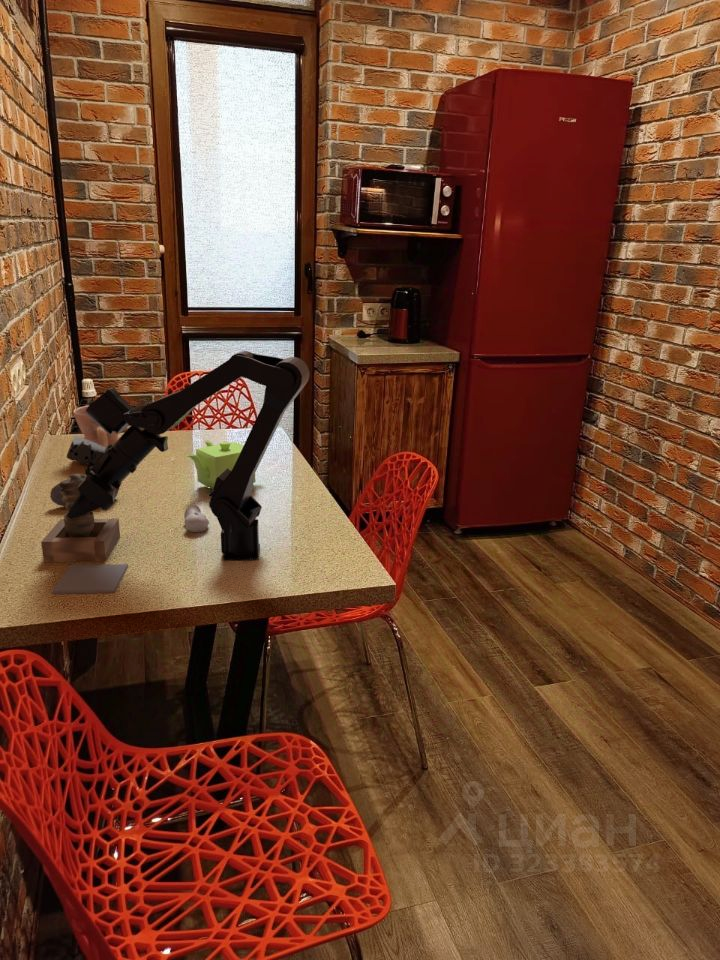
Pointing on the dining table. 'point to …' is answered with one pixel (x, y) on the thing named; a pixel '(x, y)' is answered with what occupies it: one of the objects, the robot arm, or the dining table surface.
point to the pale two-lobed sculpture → (195, 519)
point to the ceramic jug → (93, 429)
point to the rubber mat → (91, 579)
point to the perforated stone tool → (57, 495)
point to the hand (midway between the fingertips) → (71, 511)
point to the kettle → (215, 460)
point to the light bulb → (79, 524)
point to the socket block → (81, 543)
